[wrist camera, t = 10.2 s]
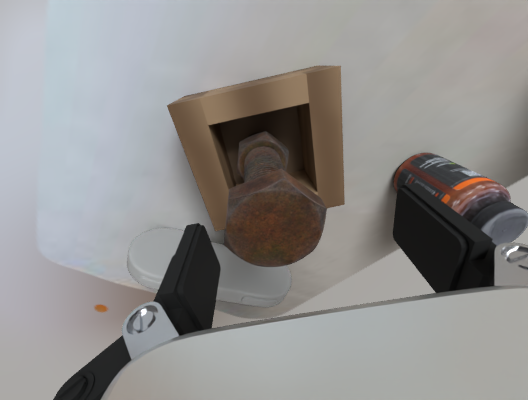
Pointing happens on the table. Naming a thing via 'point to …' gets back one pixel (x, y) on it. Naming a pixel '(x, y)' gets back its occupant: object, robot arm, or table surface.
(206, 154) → the socket block
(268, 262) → the bolt
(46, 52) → the table surface
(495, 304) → the robot arm
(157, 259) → the game controller
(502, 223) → the supplement bottle
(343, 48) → the table surface
